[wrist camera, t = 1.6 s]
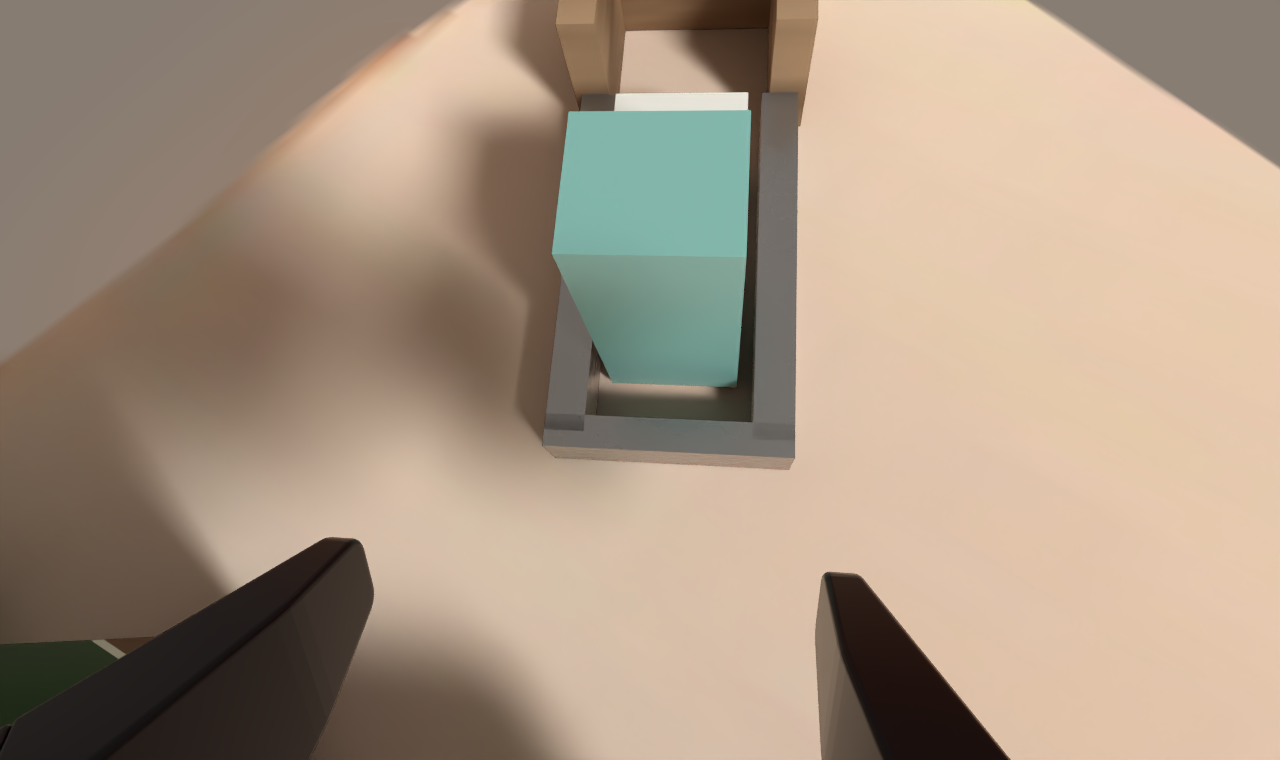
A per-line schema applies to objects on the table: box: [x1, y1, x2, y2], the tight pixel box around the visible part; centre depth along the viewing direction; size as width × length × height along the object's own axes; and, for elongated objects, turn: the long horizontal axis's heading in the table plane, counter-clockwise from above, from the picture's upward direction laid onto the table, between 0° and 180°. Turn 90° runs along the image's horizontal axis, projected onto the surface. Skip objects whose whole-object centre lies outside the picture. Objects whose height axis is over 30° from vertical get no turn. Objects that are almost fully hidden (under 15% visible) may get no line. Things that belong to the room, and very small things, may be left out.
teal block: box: [552, 92, 751, 387], centre depth 20 cm, size 8×4×9 cm, turn 176°
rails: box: [542, 92, 798, 470], centre depth 24 cm, size 12×7×2 cm, turn 176°
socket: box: [556, 0, 818, 126], centre depth 25 cm, size 6×8×5 cm
